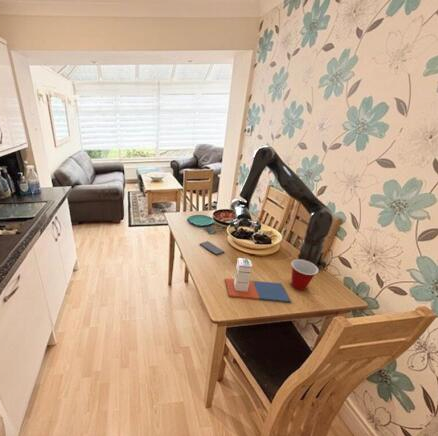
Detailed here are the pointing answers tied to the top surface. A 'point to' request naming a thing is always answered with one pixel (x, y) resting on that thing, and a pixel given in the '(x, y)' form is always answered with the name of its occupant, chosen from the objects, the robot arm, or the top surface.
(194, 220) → the teal oval plate
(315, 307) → the top surface
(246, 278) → the syrup box
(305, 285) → the plastic cup
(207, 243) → the smartphone
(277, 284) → the mat
